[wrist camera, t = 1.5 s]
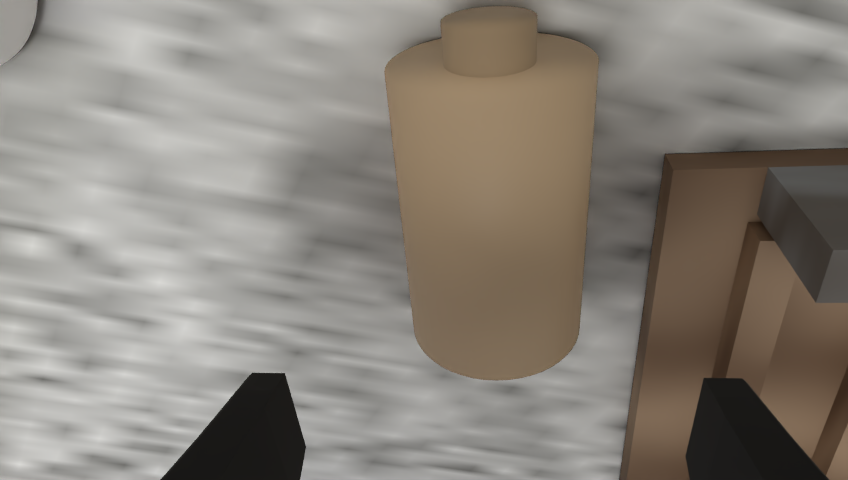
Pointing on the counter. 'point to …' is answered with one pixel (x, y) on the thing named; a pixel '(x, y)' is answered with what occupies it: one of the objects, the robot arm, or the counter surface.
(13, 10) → the can
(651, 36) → the counter surface
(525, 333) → the bottle
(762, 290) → the cradle
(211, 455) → the robot arm
